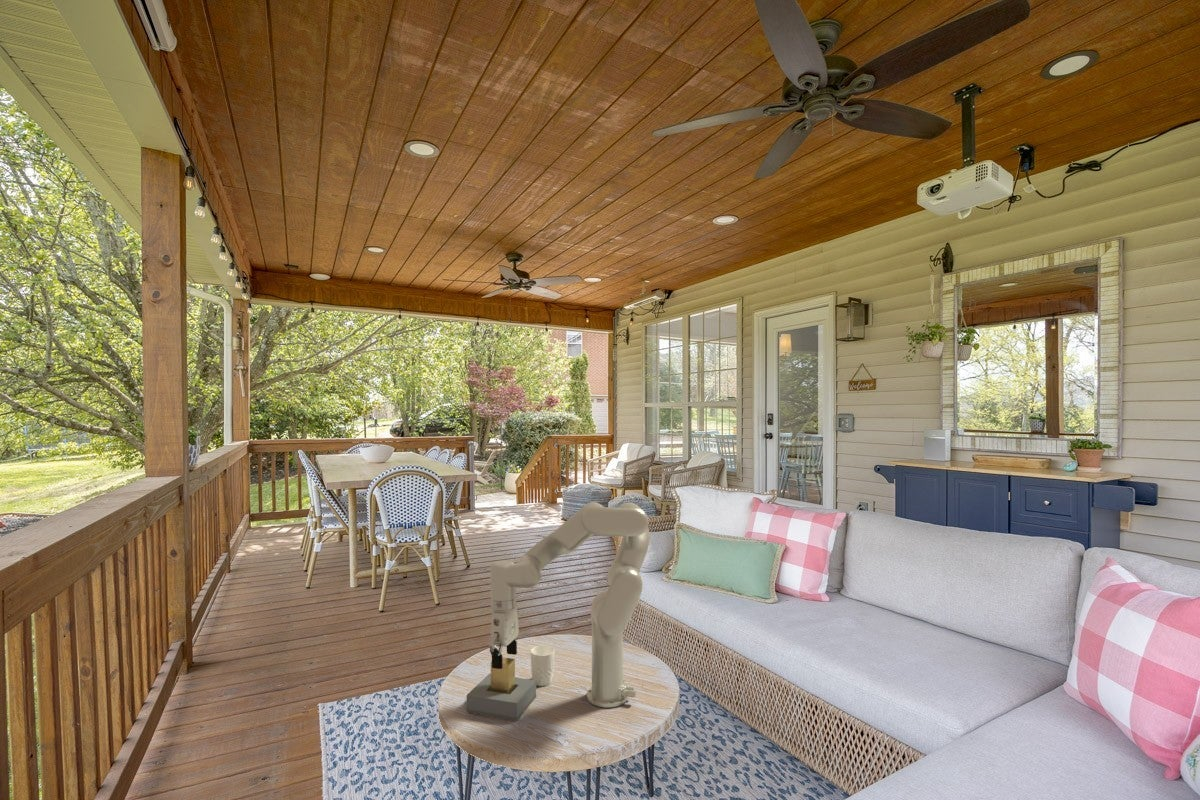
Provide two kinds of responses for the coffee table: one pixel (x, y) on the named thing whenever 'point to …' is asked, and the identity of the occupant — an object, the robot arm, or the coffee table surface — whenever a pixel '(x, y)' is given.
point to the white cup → (542, 664)
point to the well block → (501, 699)
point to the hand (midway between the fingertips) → (504, 660)
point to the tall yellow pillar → (503, 677)
